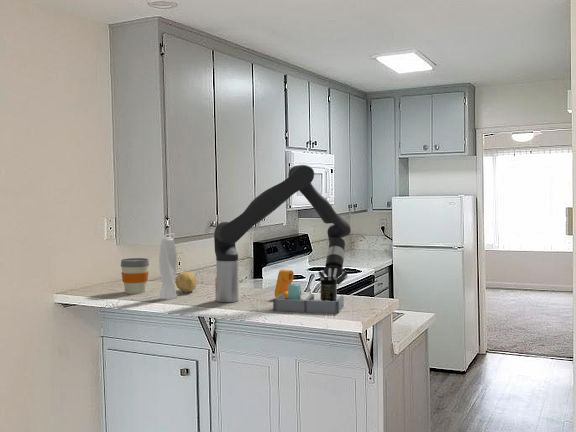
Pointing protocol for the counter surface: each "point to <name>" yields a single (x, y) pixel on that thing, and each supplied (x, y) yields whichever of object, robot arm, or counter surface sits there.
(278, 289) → the bracket
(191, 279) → the potato
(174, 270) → the skyscraper
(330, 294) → the supplement container
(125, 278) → the reusable coffee cup
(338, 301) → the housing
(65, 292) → the counter surface
